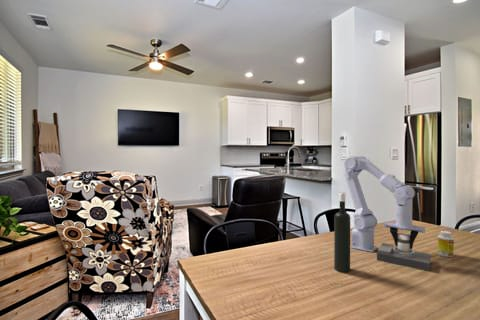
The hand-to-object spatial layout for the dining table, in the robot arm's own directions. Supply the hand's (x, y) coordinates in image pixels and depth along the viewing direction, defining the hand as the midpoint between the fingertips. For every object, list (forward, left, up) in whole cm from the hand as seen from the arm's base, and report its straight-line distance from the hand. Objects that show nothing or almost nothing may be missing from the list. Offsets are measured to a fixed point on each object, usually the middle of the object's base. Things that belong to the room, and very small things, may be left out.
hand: (403, 247), depth 110 cm
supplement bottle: (+14, +18, -6) cm, 24 cm away
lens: (0, 0, -2) cm, 2 cm away
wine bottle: (-18, -24, -6) cm, 31 cm away
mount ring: (0, 0, -3) cm, 3 cm away
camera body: (0, 0, -6) cm, 6 cm away
